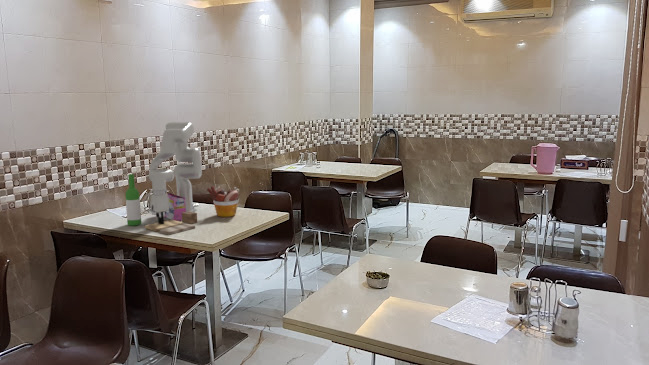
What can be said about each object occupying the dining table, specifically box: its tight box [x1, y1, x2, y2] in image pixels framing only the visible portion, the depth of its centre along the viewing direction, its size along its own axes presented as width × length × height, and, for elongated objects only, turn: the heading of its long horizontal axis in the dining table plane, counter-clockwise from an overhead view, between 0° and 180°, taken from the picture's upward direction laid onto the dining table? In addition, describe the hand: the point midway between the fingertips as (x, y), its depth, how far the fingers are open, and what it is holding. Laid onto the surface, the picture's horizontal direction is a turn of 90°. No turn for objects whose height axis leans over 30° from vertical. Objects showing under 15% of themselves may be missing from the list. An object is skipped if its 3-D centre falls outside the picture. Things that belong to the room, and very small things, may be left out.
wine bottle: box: [124, 173, 142, 227], centre depth 297 cm, size 8×8×30 cm
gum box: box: [164, 192, 186, 222], centre depth 317 cm, size 24×8×14 cm, turn 40°
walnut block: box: [181, 211, 198, 225], centre depth 304 cm, size 5×8×6 cm, turn 53°
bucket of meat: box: [207, 185, 240, 218], centre depth 320 cm, size 20×16×20 cm
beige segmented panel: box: [144, 219, 184, 233], centre depth 292 cm, size 18×12×2 cm, turn 143°
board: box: [158, 222, 196, 236], centre depth 286 cm, size 18×9×2 cm, turn 143°
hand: (161, 223), depth 294 cm, fingers closed
